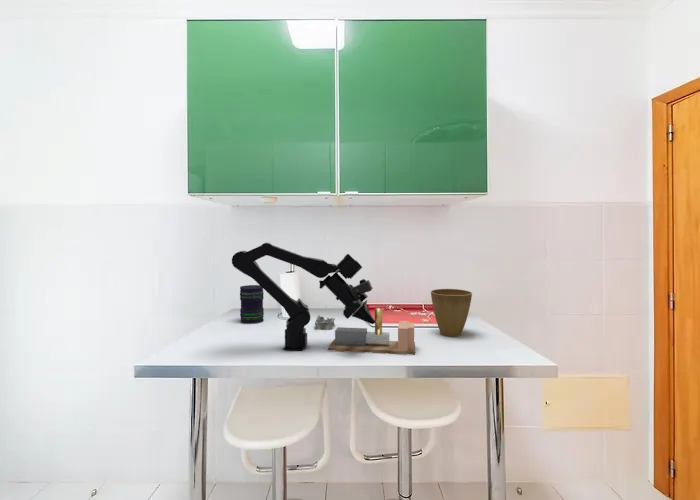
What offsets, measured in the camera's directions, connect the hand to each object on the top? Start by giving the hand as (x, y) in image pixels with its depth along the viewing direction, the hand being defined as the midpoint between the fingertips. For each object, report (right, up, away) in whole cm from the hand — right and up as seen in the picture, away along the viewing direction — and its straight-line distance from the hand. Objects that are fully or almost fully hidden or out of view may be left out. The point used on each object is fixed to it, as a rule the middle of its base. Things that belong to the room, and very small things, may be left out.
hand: (374, 323), depth 131 cm
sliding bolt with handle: (-2, -6, +1) cm, 7 cm away
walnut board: (-1, -8, 0) cm, 8 cm away
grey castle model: (-18, -7, +30) cm, 36 cm away
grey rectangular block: (-8, -7, +1) cm, 10 cm away
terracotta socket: (+10, -7, -1) cm, 13 cm away
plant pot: (+30, -8, +18) cm, 35 cm away
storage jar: (-50, -7, +40) cm, 64 cm away
